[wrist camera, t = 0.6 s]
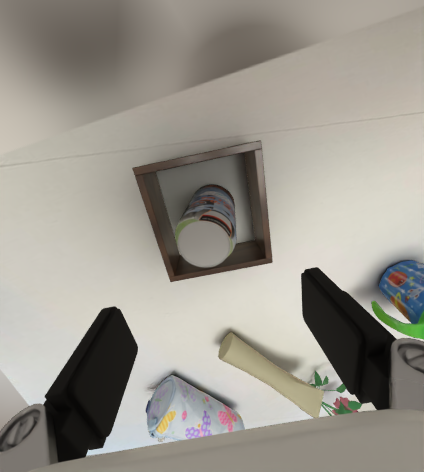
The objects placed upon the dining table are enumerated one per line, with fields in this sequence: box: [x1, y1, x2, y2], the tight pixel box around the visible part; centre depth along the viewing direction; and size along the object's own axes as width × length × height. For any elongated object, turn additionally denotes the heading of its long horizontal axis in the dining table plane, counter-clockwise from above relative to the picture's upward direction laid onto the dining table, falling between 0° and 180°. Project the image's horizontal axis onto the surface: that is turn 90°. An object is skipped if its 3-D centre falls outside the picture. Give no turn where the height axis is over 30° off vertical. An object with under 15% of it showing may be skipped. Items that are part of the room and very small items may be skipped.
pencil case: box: [146, 375, 245, 442], centre depth 41 cm, size 21×9×10 cm, turn 47°
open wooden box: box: [133, 140, 272, 282], centre depth 26 cm, size 15×14×6 cm
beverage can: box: [175, 185, 236, 267], centre depth 23 cm, size 6×7×12 cm
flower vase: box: [218, 332, 362, 418], centre depth 39 cm, size 12×12×35 cm
